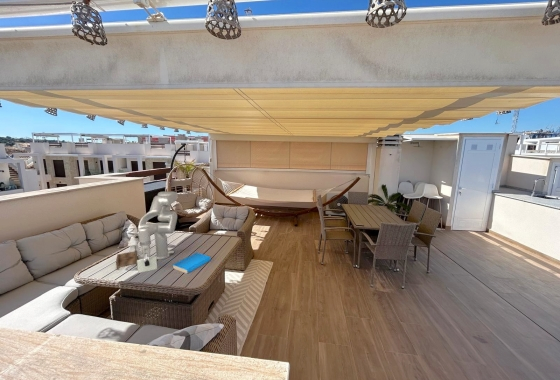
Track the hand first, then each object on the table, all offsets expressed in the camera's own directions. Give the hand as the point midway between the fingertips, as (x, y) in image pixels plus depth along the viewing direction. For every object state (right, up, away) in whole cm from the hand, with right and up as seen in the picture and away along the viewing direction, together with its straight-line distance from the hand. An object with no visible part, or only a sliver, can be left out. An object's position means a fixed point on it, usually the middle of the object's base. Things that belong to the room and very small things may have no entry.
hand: (147, 263), depth 177 cm
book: (+32, -5, +12) cm, 34 cm away
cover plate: (0, -6, +1) cm, 6 cm away
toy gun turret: (-27, -1, +26) cm, 38 cm away
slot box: (-23, -4, +10) cm, 25 cm away
